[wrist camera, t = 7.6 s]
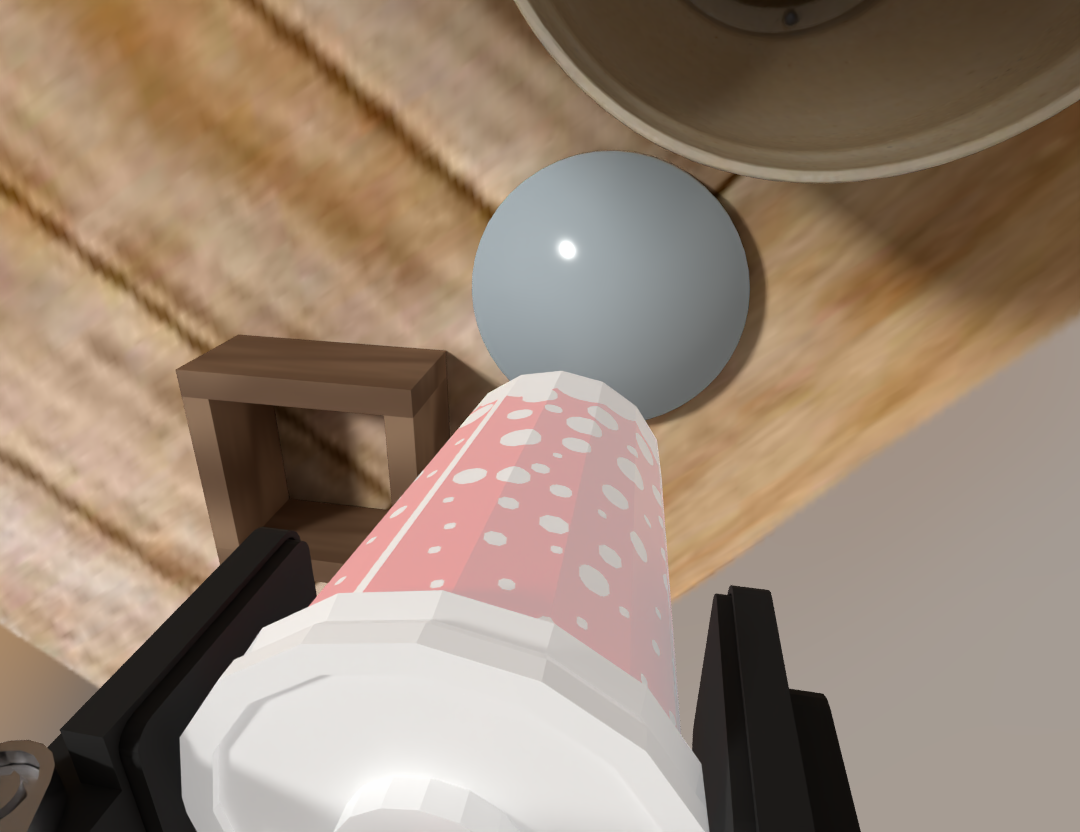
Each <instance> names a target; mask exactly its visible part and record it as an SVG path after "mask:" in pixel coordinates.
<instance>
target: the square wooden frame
mask: <svg viewBox="0 0 1080 832" xmlns="http://www.w3.org/2000/svg"><path fill="white" fill-rule="evenodd" d="M176 374H177V378H178V382H179V387H180V391H181V395H182V400H183V404H184V409H185V413H186V417H187V422H188V426H189V430H190V435H191V439H192V444H193V448H194V452H195V457H196V461H197V466H198V470H199V474H200V479H201V483H202V487H203V492H204V496H205V501H206V505H207V509H208V514H209V518H210V522H211V527H212V531H213V536H214V540H215V544H216V549H217V553H218V558H219V562H220V565H221V564H222V563H223V562H224V561H225V560H226V559H227V558H228V557H229V556H230V555H231V554H232V553H233V552H234V551H235V550H236V548H237V547H238V546H239V545H240V544H241V543H242V542H243V541H244V540H245V539H246V538H247V537H248V536H249V535H250V534H251V533H252V532H253V531H254V530H256V529H257V528H259V527H269V528H277V529H285V530H293V531H295V532H297V533H298V535H299V536H300V540H301V541H305V542H306V543H307V544H308V546H309V550H310V556H311V563H312V569H313V576H314V581H318V582H325V583H329V582H330V580H331V579H332V578H333V577H334V576H335V574H336V573H337V572H338V571H339V570H340V568H341V567H342V566H343V565H344V564H345V562H346V561H347V560H348V559H349V558H350V557H351V555H352V554H353V553H354V552H355V551H356V549H357V548H358V547H359V546H360V545H361V543H362V542H363V541H364V540H365V539H366V538H367V536H368V535H369V534H370V533H371V532H372V530H373V529H374V528H375V527H376V526H377V524H378V523H379V522H380V521H381V520H382V519H383V517H384V516H385V515H386V514H387V513H388V511H389V510H382V509H373V508H365V507H356V506H347V505H338V504H330V503H321V502H312V501H304V500H295V499H289V495H288V489H287V483H286V477H285V471H284V465H283V459H282V453H281V447H280V441H279V435H278V429H277V423H276V417H275V411H274V405H276V406H287V407H298V408H308V409H319V410H330V411H341V412H351V413H362V414H373V415H384V423H385V434H386V445H387V456H388V467H389V477H390V488H391V499H392V507H393V505H394V504H395V503H396V502H397V501H398V500H399V498H400V497H401V496H402V495H403V494H404V492H405V491H406V490H407V489H408V488H409V486H410V485H411V484H412V483H413V482H414V481H415V479H416V478H417V477H418V476H419V475H420V473H421V472H422V471H423V470H424V469H425V467H426V466H427V465H428V464H429V463H430V462H431V460H432V459H433V458H434V457H435V456H436V454H437V453H438V452H439V451H440V450H441V448H442V447H443V446H444V445H445V444H446V442H447V441H448V440H449V439H450V431H449V410H448V388H447V367H446V351H443V350H430V349H417V348H404V347H391V346H378V345H365V344H352V343H339V342H326V341H312V340H299V339H286V338H273V337H260V336H247V335H237V336H235V337H233V338H232V339H230V340H228V341H226V342H225V343H223V344H221V345H219V346H217V347H216V348H214V349H212V350H210V351H208V352H207V353H205V354H203V355H201V356H199V357H198V358H196V359H194V360H192V361H190V362H189V363H187V364H185V365H183V366H181V367H180V368H178V369H176Z"/></svg>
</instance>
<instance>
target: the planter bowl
mask: <svg viewBox="0 0 1080 832" xmlns="http://www.w3.org/2000/svg"><path fill="white" fill-rule="evenodd" d="M514 2H515V3H516V5H517V7H518V8H519V10H520V12H521V13H522V15H523V17H524V18H525V20H526V22H527V23H528V25H529V26H530V28H531V29H532V31H533V32H534V34H535V35H536V37H537V38H538V39H539V41H540V42H541V43H542V45H543V46H544V47H545V48H546V50H547V51H548V52H549V54H550V55H551V56H552V57H553V59H554V60H555V61H556V62H557V63H558V64H559V66H560V67H561V68H562V69H563V70H564V72H565V73H566V74H567V75H568V76H569V77H570V78H571V79H572V80H573V81H574V82H575V83H576V84H577V86H578V87H580V88H581V89H582V90H583V91H584V92H585V93H586V94H587V95H588V96H590V97H591V98H592V99H593V100H594V101H595V102H596V103H597V104H599V105H600V106H601V107H602V108H603V109H604V110H605V111H607V112H608V113H609V114H611V115H612V116H614V117H615V118H616V119H618V120H619V121H620V122H622V123H623V124H624V125H626V126H627V127H629V128H630V129H631V130H633V131H634V132H636V133H637V134H639V135H641V136H643V137H644V138H646V139H648V140H649V141H651V142H653V143H655V144H656V145H658V146H660V147H662V148H665V149H667V150H669V151H671V152H673V153H676V154H678V155H680V156H682V157H685V158H687V159H689V160H691V161H694V162H697V163H700V164H703V165H706V166H709V167H712V168H715V169H718V170H721V171H726V172H730V173H734V174H739V175H743V176H748V177H753V178H759V179H765V180H771V181H781V182H794V183H845V182H856V181H865V180H872V179H879V178H886V177H893V176H898V175H902V174H907V173H912V172H917V171H921V170H924V169H928V168H932V167H936V166H939V165H943V164H945V163H948V162H951V161H954V160H957V159H960V158H963V157H966V156H969V155H972V154H975V153H977V152H979V151H982V150H984V149H987V148H989V147H991V146H994V145H996V144H998V143H1001V142H1003V141H1005V140H1007V139H1009V138H1011V137H1013V136H1015V135H1017V134H1019V133H1021V132H1024V131H1026V130H1028V129H1030V128H1031V127H1033V126H1035V125H1037V124H1039V123H1041V122H1043V121H1045V120H1047V119H1049V118H1051V117H1052V116H1054V115H1056V114H1057V113H1059V112H1061V111H1062V110H1064V109H1065V108H1067V107H1069V106H1070V105H1072V104H1073V103H1075V102H1077V101H1078V100H1080V0H514Z"/></svg>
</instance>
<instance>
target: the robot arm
mask: <svg viewBox="0 0 1080 832" xmlns="http://www.w3.org/2000/svg"><path fill="white" fill-rule="evenodd" d="M316 597H317V595H316V589H315V582H314V576H313V569H312V563H311V556H310V550H309V546H308V544H307V543H306V542H305V541H301V540H300V536H299V535H298V533H297V532H295V531H293V530H285V529H277V528H269V527H259V528H257V529H256V530H254V531H253V532H252V533H251V534H250V535H249V536H248V537H247V538H246V539H245V540H244V541H243V542H242V543H241V544H240V545H239V546H238V547H237V548H236V550H235V551H234V552H233V553H232V554H231V555H230V556H229V557H228V558H227V559H226V560H225V561H224V562H223V563H222V564H221V565H220V566H219V567H218V568H217V569H216V570H215V571H214V572H213V573H212V574H211V575H210V576H209V577H208V578H207V579H206V580H205V581H204V582H203V583H202V584H201V585H200V586H199V587H198V588H197V589H196V591H195V592H194V593H193V594H192V595H191V596H190V597H189V598H188V599H187V600H186V601H185V602H184V603H183V604H182V605H181V606H180V607H179V608H178V609H177V610H176V611H175V612H174V613H173V614H172V615H171V616H170V617H169V618H168V619H167V620H166V621H165V622H164V623H163V624H162V625H161V626H160V627H159V628H158V629H157V631H156V632H155V633H154V634H153V635H152V636H151V637H150V638H149V639H148V640H147V641H146V642H145V643H144V644H143V645H142V646H141V647H140V648H139V649H138V650H137V651H136V652H135V653H134V654H133V655H132V656H131V657H130V658H129V659H128V660H127V661H126V662H125V663H124V664H123V665H122V666H121V667H120V668H119V669H118V670H117V672H116V673H115V674H114V675H113V676H112V677H111V678H110V679H109V680H108V681H107V682H106V683H105V684H104V685H103V686H102V687H101V688H100V689H99V690H98V691H97V692H96V693H95V694H94V695H93V696H92V697H91V698H90V699H89V700H88V701H87V702H86V703H85V704H84V705H83V706H82V707H81V709H79V710H78V711H77V713H76V714H75V715H74V716H73V717H72V718H71V719H70V720H69V721H68V722H67V723H66V724H65V725H64V726H63V727H62V728H61V729H60V731H61V734H60V735H59V736H58V737H57V738H56V739H55V740H54V741H53V742H52V743H51V744H50V745H49V746H48V747H46V746H45V745H44V744H42V743H38V742H34V741H31V740H15V741H7V742H3V743H0V832H197V831H196V829H195V827H194V825H193V824H192V822H191V820H190V818H189V816H188V814H187V812H186V809H185V806H184V802H183V799H182V787H181V761H180V736H181V735H182V733H183V732H184V730H185V729H186V727H187V726H188V724H189V723H190V721H191V720H192V718H193V717H194V715H195V714H196V712H197V711H198V709H199V708H200V706H201V705H202V703H203V702H204V700H205V699H206V697H207V696H208V694H209V693H210V691H211V690H212V688H213V687H214V685H215V684H216V683H217V681H218V680H219V678H220V677H221V676H222V674H223V673H224V672H225V671H226V669H227V668H228V667H229V666H230V664H231V663H232V662H233V661H234V660H235V659H237V658H239V657H241V656H244V654H245V653H246V651H247V650H248V649H249V647H250V646H251V644H252V643H253V641H254V640H255V638H256V637H257V635H258V634H259V632H260V631H261V629H262V628H263V627H266V626H268V625H270V624H272V623H274V622H277V621H279V620H281V619H283V618H285V617H287V616H290V615H292V614H294V613H296V612H298V611H300V610H303V609H305V608H307V607H308V606H309V605H310V604H311V603H312V602H313V601H314V599H315V598H316ZM692 746H693V747H692V751H693V753H694V754H695V755H696V757H697V758H698V760H699V761H700V763H701V765H702V774H703V782H704V791H705V799H706V808H707V816H708V825H709V832H861V831H860V827H859V823H858V819H857V815H856V811H855V807H854V803H853V799H852V795H851V791H850V786H849V782H848V778H847V774H846V770H845V766H844V762H843V759H842V754H841V750H840V746H839V742H838V738H837V734H836V730H835V726H834V722H833V718H832V714H831V710H830V706H829V704H828V700H827V698H826V697H825V696H824V694H821V693H815V692H808V691H801V690H794V689H789V687H788V682H787V676H786V671H785V665H784V660H783V655H782V649H781V644H780V639H779V633H778V627H777V622H776V617H775V611H774V607H773V600H772V596H771V592H770V591H769V590H764V589H756V588H748V587H740V586H732V585H731V586H730V587H729V590H728V595H723V594H715V595H714V599H713V604H712V611H711V617H710V623H709V630H708V636H707V643H706V649H705V656H704V662H703V668H702V675H701V682H700V688H699V694H698V701H697V707H696V713H695V720H694V728H693V744H692Z"/></svg>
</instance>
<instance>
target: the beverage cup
mask: <svg viewBox="0 0 1080 832" xmlns="http://www.w3.org/2000/svg"><path fill="white" fill-rule="evenodd" d="M180 761H181V787H182V799H183V802H184V806H185V809H186V812H187V814H188V816H189V818H190V820H191V822H192V824H193V825H194V827H195V829H196V831H197V832H709V825H708V816H707V808H706V799H705V791H704V782H703V774H702V765H701V763H700V761H699V760H698V758H697V757H696V755H695V754H694V753H693V751H692V750H691V749H690V747H689V745H688V744H687V743H686V741H685V740H684V738H683V737H682V736H681V730H680V716H679V703H678V690H677V678H676V664H675V651H674V638H673V624H672V611H671V598H670V584H669V571H668V558H667V545H666V532H665V519H664V505H663V492H662V479H661V470H660V461H659V453H658V445H657V439H656V438H655V436H654V434H653V433H652V431H651V430H650V428H649V426H648V425H647V423H646V421H645V420H644V418H643V416H642V415H641V413H640V412H639V410H638V408H637V407H636V406H635V405H634V404H632V403H631V402H630V401H628V400H627V399H625V398H624V397H623V396H621V395H620V394H619V393H617V392H616V391H615V390H613V389H612V388H610V387H609V386H608V385H606V384H605V383H604V382H601V381H598V380H594V379H590V378H587V377H583V376H579V375H576V374H572V373H568V372H565V371H554V372H545V373H535V374H525V375H520V376H518V377H517V378H515V379H513V380H511V381H509V382H508V383H506V384H504V385H502V386H500V387H498V388H497V389H495V390H493V391H491V392H489V393H488V394H487V395H486V396H485V397H484V399H483V400H482V401H481V402H480V403H479V404H478V406H477V407H476V408H475V409H474V410H473V412H472V413H471V414H470V415H469V416H468V418H467V419H466V420H465V421H464V422H463V423H462V425H461V426H460V427H459V428H458V429H457V431H456V432H455V433H454V434H453V435H452V437H451V438H450V439H449V440H448V441H447V442H446V444H445V445H444V446H443V447H442V448H441V450H440V451H439V452H438V453H437V454H436V456H435V457H434V458H433V459H432V460H431V462H430V463H429V464H428V465H427V466H426V467H425V469H424V470H423V471H422V472H421V473H420V475H419V476H418V477H417V478H416V479H415V481H414V482H413V483H412V484H411V485H410V486H409V488H408V489H407V490H406V491H405V492H404V494H403V495H402V496H401V497H400V498H399V500H398V501H397V502H396V503H395V504H394V505H393V507H392V508H391V509H390V510H389V511H388V513H387V514H386V515H385V516H384V517H383V519H382V520H381V521H380V522H379V523H378V524H377V526H376V527H375V528H374V529H373V530H372V532H371V533H370V534H369V535H368V536H367V538H366V539H365V540H364V541H363V542H362V543H361V545H360V546H359V547H358V548H357V549H356V551H355V552H354V553H353V554H352V555H351V557H350V558H349V559H348V560H347V561H346V562H345V564H344V565H343V566H342V567H341V568H340V570H339V571H338V572H337V573H336V574H335V576H334V577H333V578H332V579H331V580H330V582H329V583H328V584H327V585H326V586H325V587H324V589H323V590H322V591H321V592H320V593H319V595H318V596H317V597H316V598H315V599H314V601H313V602H312V603H311V604H310V605H309V606H308V607H307V608H305V609H303V610H300V611H298V612H296V613H294V614H292V615H290V616H287V617H285V618H283V619H281V620H279V621H277V622H274V623H272V624H270V625H268V626H266V627H263V628H262V629H261V631H260V632H259V634H258V635H257V637H256V638H255V640H254V641H253V643H252V644H251V646H250V647H249V649H248V650H247V651H246V653H245V654H244V656H241V657H239V658H237V659H235V660H234V661H233V662H232V663H231V664H230V666H229V667H228V668H227V669H226V671H225V672H224V673H223V674H222V676H221V677H220V678H219V680H218V681H217V683H216V684H215V685H214V687H213V688H212V690H211V691H210V693H209V694H208V696H207V697H206V699H205V700H204V702H203V703H202V705H201V706H200V708H199V709H198V711H197V712H196V714H195V715H194V717H193V718H192V720H191V721H190V723H189V724H188V726H187V727H186V729H185V730H184V732H183V733H182V735H181V736H180Z"/></svg>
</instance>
